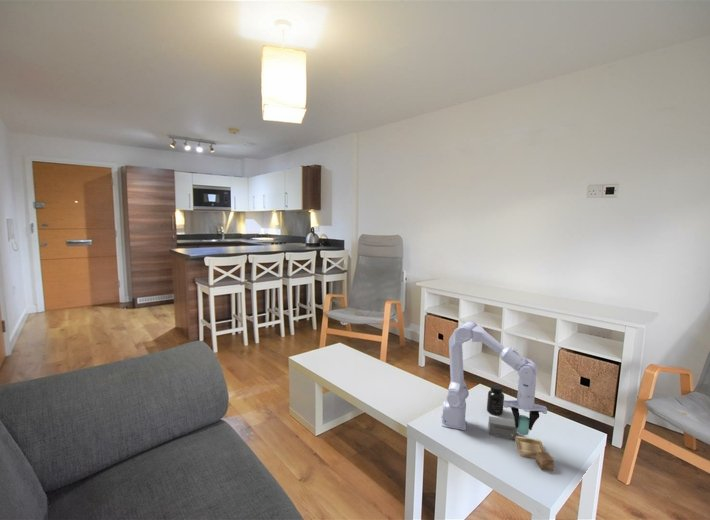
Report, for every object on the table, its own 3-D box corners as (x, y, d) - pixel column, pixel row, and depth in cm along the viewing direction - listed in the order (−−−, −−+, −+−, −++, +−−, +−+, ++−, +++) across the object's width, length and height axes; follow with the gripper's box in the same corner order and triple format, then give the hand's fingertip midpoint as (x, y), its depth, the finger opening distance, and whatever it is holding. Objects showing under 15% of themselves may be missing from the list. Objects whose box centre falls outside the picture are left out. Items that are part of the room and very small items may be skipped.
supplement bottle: (485, 406, 163) (487, 382, 161) (500, 408, 162) (502, 383, 160) (488, 415, 156) (490, 389, 155) (504, 416, 155) (507, 391, 154)
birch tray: (519, 455, 130) (519, 450, 130) (515, 440, 139) (515, 435, 139) (546, 460, 128) (546, 455, 128) (540, 445, 137) (540, 440, 136)
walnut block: (541, 470, 123) (542, 459, 123) (535, 462, 127) (536, 452, 127) (552, 470, 123) (554, 460, 123) (546, 462, 127) (547, 452, 127)
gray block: (489, 434, 142) (490, 423, 142) (488, 427, 147) (489, 416, 146) (517, 439, 140) (518, 427, 139) (514, 431, 144) (515, 420, 144)
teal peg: (517, 433, 132) (518, 420, 131) (515, 427, 136) (517, 414, 135) (529, 435, 131) (530, 422, 130) (527, 429, 135) (528, 416, 134)
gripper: (506, 395, 129) (503, 430, 131) (550, 402, 126) (546, 437, 127) (504, 386, 136) (501, 419, 138) (545, 392, 132) (542, 426, 134)
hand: (522, 427), depth 133 cm, fingers closed on teal peg, 4 cm apart
